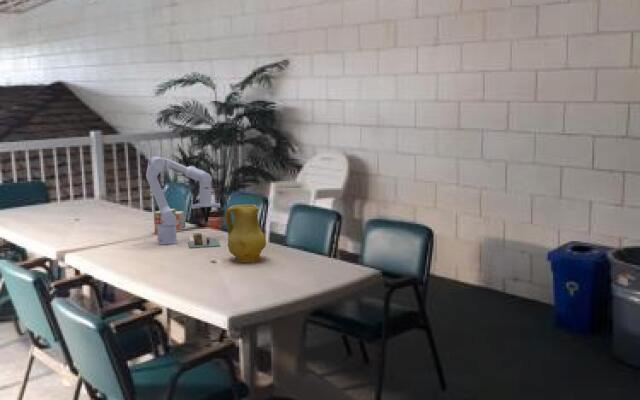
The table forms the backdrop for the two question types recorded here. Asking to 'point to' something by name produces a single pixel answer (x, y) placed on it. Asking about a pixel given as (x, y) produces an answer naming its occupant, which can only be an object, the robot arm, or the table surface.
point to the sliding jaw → (205, 240)
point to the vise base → (212, 244)
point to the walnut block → (197, 238)
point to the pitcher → (244, 233)
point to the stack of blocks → (179, 219)
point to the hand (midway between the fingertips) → (206, 221)
